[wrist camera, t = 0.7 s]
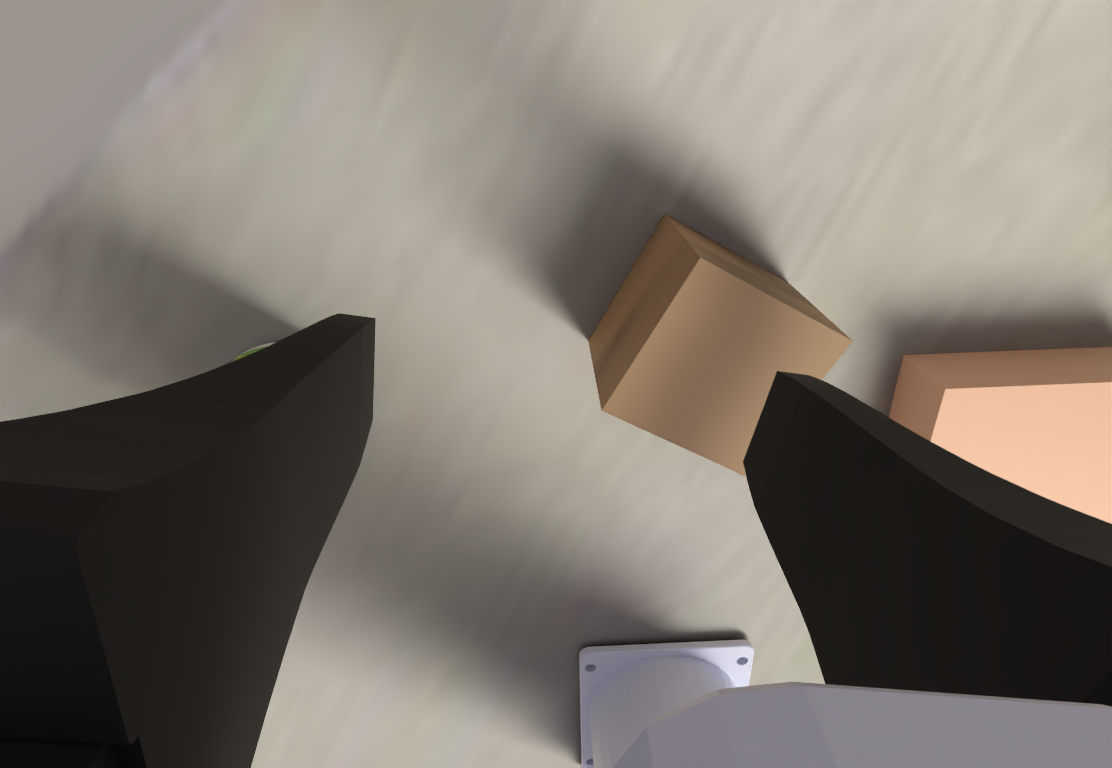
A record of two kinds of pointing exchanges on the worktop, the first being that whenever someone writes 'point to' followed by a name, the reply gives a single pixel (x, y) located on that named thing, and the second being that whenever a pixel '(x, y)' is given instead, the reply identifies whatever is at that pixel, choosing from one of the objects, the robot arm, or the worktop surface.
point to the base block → (1019, 417)
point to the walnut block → (704, 343)
